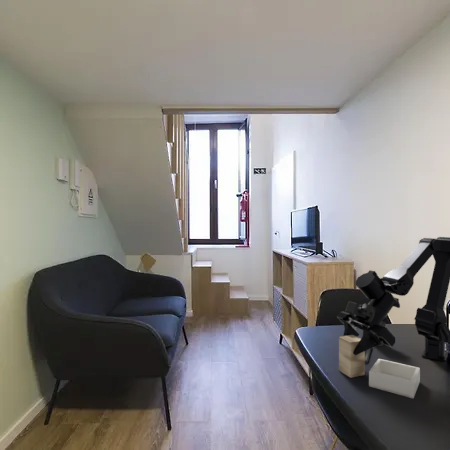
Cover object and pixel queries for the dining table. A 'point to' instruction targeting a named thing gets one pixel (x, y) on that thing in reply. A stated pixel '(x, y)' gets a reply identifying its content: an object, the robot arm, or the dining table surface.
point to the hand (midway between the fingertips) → (347, 350)
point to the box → (395, 377)
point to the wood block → (350, 357)
